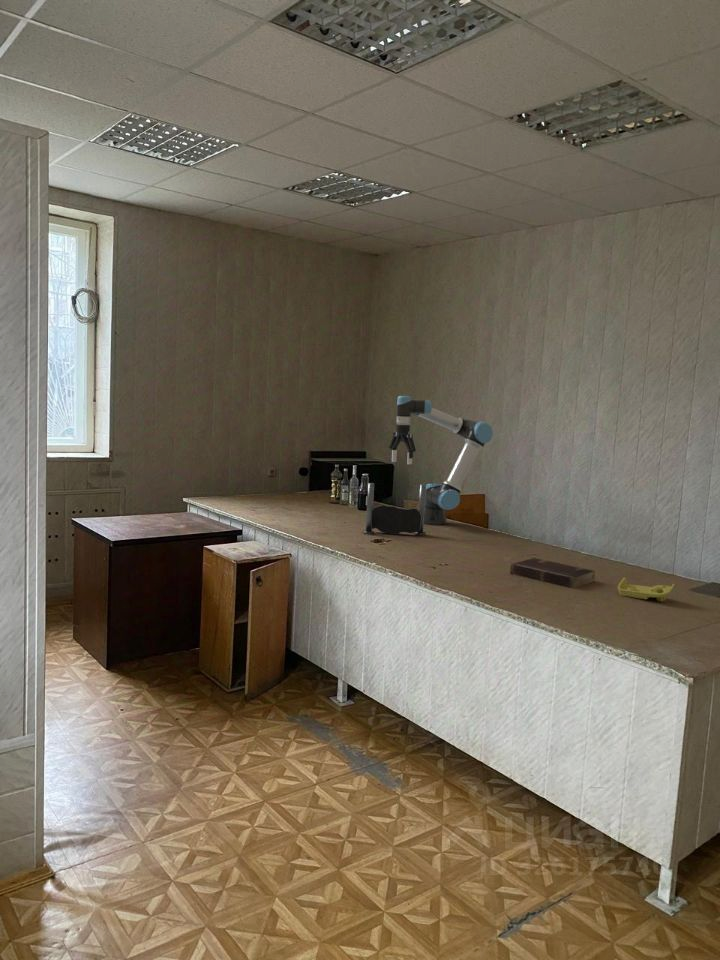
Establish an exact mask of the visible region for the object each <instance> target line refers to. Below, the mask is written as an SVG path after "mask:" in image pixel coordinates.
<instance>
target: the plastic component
mask: <svg viewBox="0 0 720 960" xmlns="http://www.w3.org/2000/svg"><path fill="white" fill-rule="evenodd" d="M674 586H675V583H672V585H671V586H670V585H665V584H663V585H662V584H658V585H654V586H646V585H637V584H630V583H628V580H627V578H626V577H623V578H622V579H621V581H620V582H619V583H618V585H617V590H618V593H619V595H620V596H622V595H623V597H627V596H628V598H634V599H641V600H642V599H643V600H648V599H649V598H656V601H658V602H665V601H666V600H667V596H668V595H670V593H671V592H672V590H673V588H674Z"/></svg>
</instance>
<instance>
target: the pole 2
mask: <svg viewBox="0 0 720 960" xmlns="http://www.w3.org/2000/svg"><path fill="white" fill-rule="evenodd" d="M426 485H427V484H420V485H419V494H418V508H417V509H418V510H419V511H420V513H421V516H422V519H421V528H420V530H419V532H414V534H417V535H416V536H418V535H425V536H426V535H427V534H426V532H425V531H424V526H425V525H424V524H425V523H424V510H425V494H426Z"/></svg>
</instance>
